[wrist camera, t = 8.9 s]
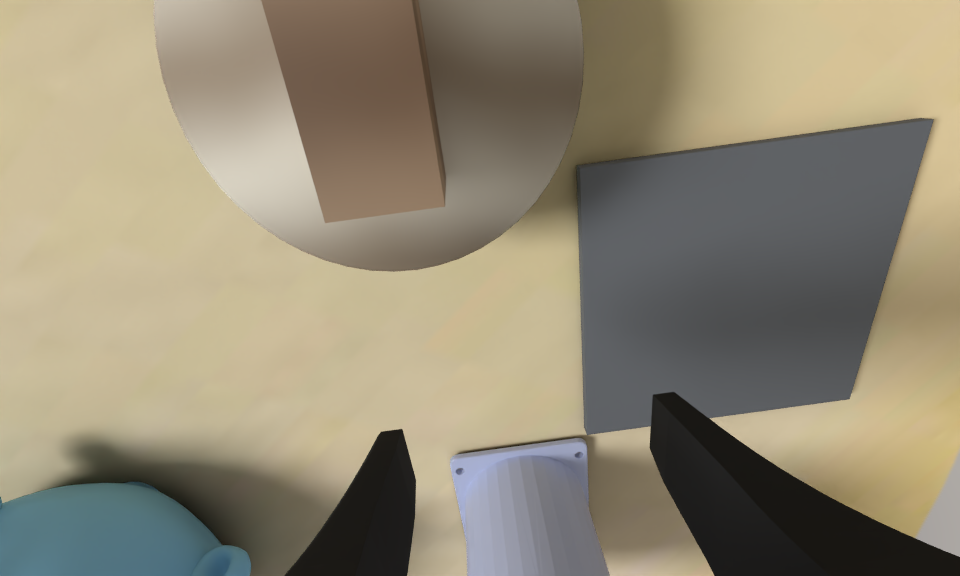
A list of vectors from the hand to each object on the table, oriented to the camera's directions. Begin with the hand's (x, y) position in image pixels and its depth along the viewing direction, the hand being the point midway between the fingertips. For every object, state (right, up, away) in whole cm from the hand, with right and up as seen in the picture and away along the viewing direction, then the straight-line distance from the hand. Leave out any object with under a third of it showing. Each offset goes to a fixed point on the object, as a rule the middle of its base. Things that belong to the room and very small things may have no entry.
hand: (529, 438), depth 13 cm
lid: (-4, +11, +1) cm, 12 cm away
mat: (+11, +4, +10) cm, 15 cm away
